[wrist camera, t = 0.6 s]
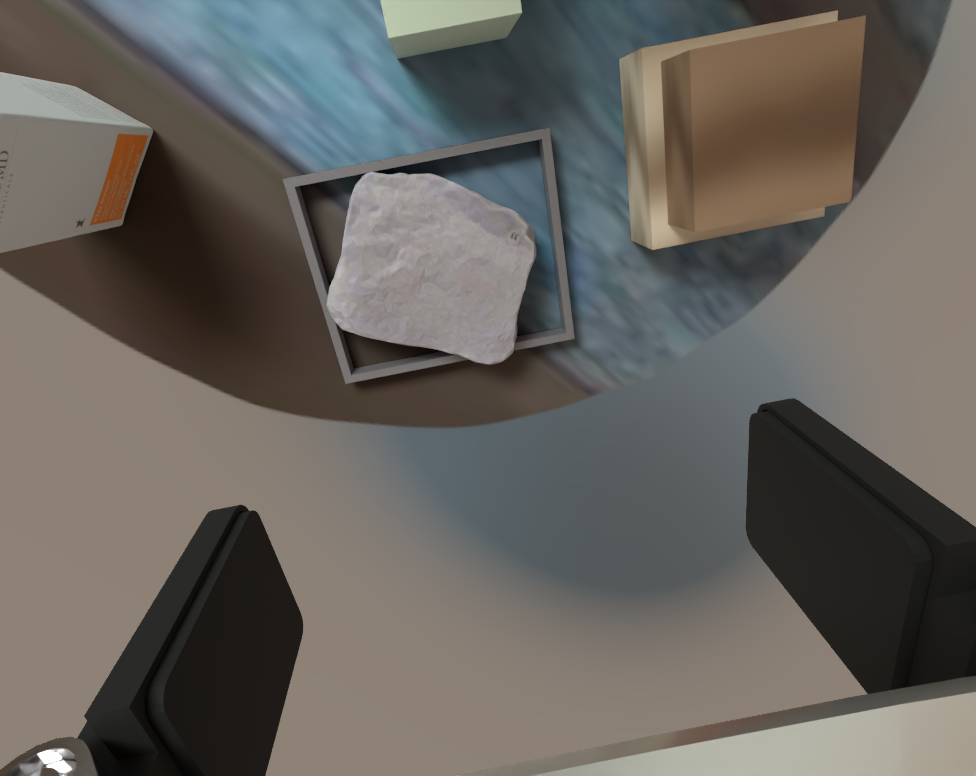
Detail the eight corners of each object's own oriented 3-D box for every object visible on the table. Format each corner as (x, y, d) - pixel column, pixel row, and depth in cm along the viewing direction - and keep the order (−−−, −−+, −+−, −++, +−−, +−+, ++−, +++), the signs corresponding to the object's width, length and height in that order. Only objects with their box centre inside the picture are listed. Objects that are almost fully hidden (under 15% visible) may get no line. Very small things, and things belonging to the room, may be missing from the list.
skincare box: (125, 227, 32) (-37, 268, 21) (46, 189, 31) (-170, 210, 20) (159, 127, 30) (0, 114, 19) (75, 81, 29) (-144, 40, 18)
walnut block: (660, 61, 28) (689, 50, 25) (816, 31, 28) (866, 15, 25) (668, 224, 31) (694, 232, 28) (808, 196, 31) (850, 201, 28)
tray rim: (288, 178, 32) (282, 179, 30) (545, 128, 32) (549, 127, 31) (348, 376, 37) (345, 383, 36) (570, 333, 37) (574, 338, 36)
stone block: (358, 165, 34) (331, 323, 36) (344, 148, 30) (314, 331, 31) (543, 210, 36) (508, 361, 37) (557, 201, 31) (516, 373, 33)
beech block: (616, 60, 31) (641, 48, 27) (790, 26, 31) (838, 10, 28) (629, 239, 35) (652, 250, 31) (783, 209, 35) (824, 216, 32)
